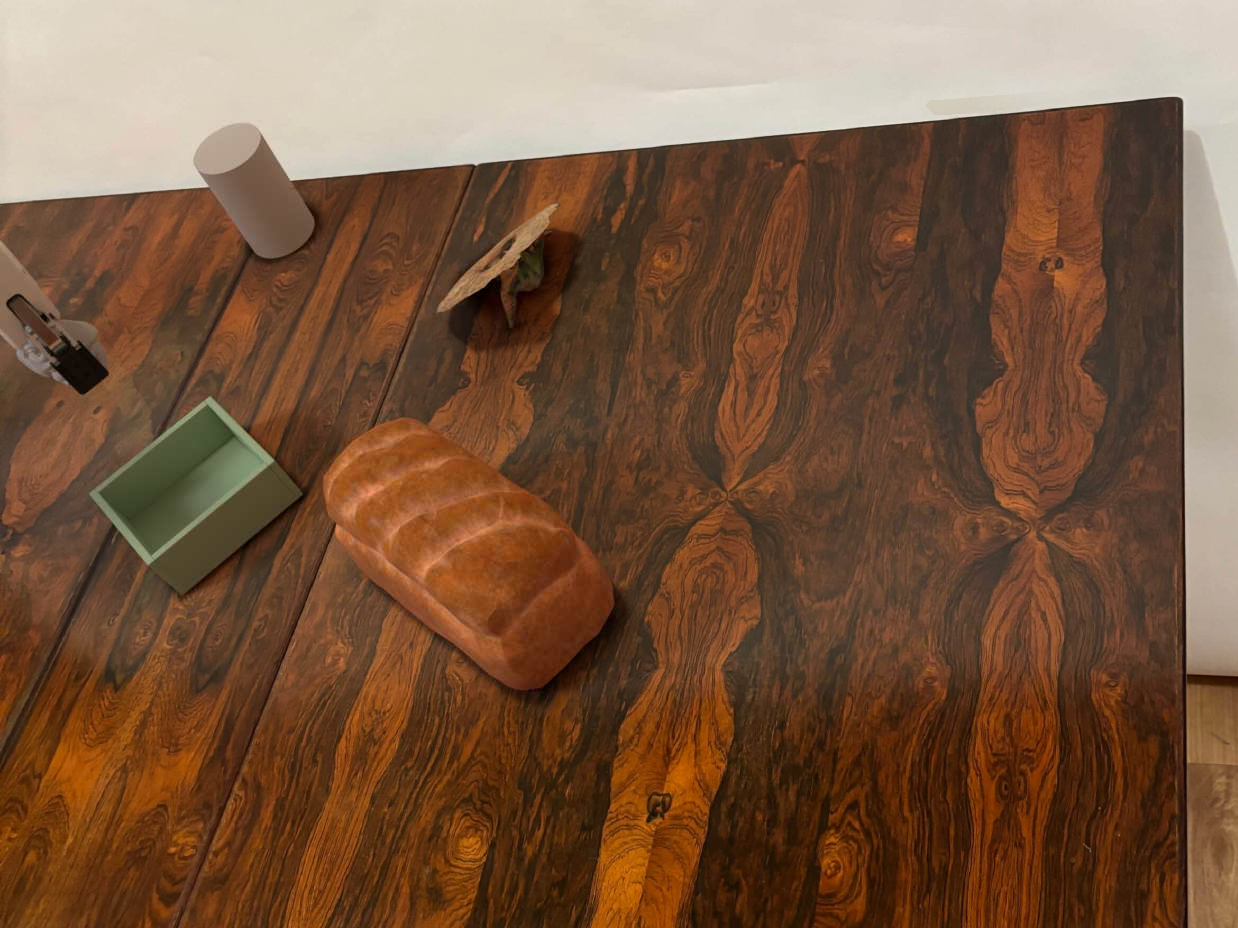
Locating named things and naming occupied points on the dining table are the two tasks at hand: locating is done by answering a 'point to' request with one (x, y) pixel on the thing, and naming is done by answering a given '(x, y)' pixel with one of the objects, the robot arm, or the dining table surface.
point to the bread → (467, 551)
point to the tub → (195, 495)
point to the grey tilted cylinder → (254, 190)
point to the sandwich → (507, 266)
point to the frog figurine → (75, 328)
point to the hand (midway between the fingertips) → (77, 365)
